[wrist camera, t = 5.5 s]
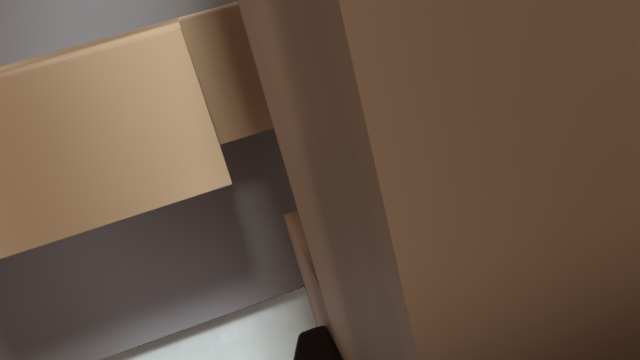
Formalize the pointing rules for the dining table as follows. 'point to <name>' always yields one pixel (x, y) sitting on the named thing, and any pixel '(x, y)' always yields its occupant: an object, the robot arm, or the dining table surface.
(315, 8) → the brown rectangular block
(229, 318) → the dining table surface
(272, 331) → the dining table surface
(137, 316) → the slotted stand
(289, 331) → the dining table surface
